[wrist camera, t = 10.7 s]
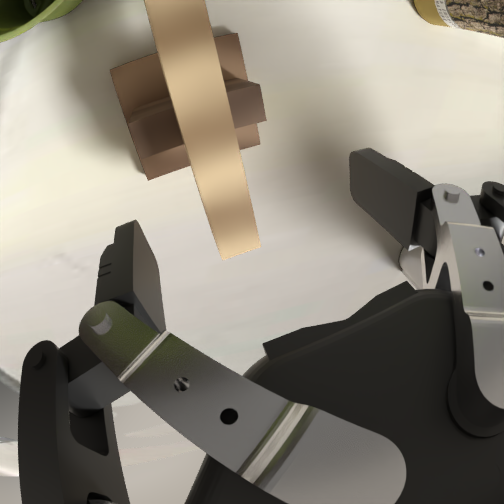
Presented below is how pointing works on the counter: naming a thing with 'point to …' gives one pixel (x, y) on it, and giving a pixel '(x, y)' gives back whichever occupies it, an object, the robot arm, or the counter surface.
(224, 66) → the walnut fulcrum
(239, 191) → the light tan wooden bar
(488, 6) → the brown bark-patterned cylinder
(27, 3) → the plant pot
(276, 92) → the counter surface
